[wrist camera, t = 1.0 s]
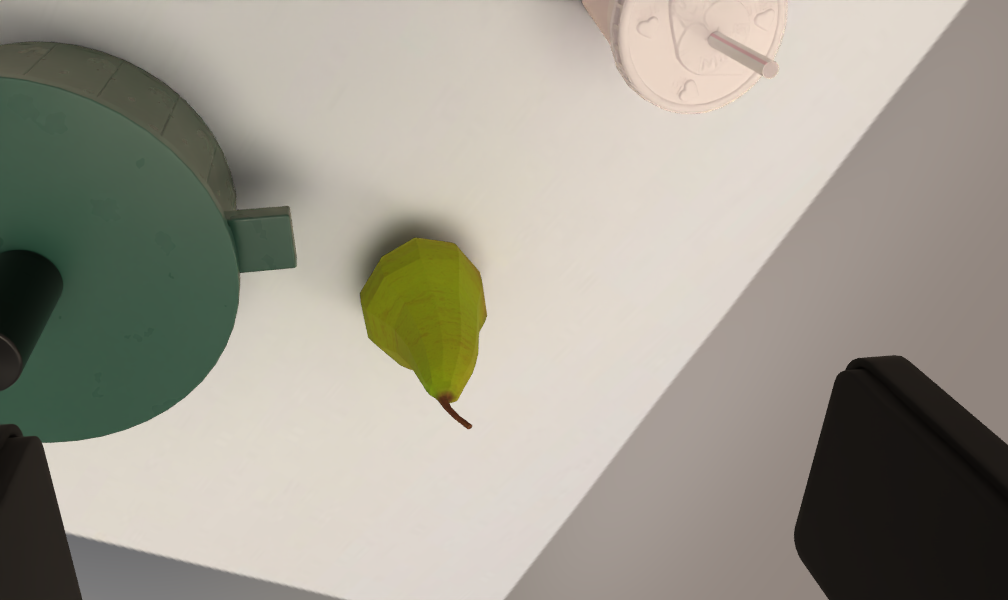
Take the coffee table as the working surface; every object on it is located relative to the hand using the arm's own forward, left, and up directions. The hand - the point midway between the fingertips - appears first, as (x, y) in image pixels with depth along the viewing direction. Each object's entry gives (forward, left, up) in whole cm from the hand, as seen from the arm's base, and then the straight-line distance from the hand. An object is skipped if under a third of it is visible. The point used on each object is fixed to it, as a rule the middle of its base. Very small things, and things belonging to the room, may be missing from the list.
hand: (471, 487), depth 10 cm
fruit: (+14, 0, -31) cm, 34 cm away
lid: (+6, -14, -24) cm, 28 cm away
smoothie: (+2, +12, -31) cm, 33 cm away
